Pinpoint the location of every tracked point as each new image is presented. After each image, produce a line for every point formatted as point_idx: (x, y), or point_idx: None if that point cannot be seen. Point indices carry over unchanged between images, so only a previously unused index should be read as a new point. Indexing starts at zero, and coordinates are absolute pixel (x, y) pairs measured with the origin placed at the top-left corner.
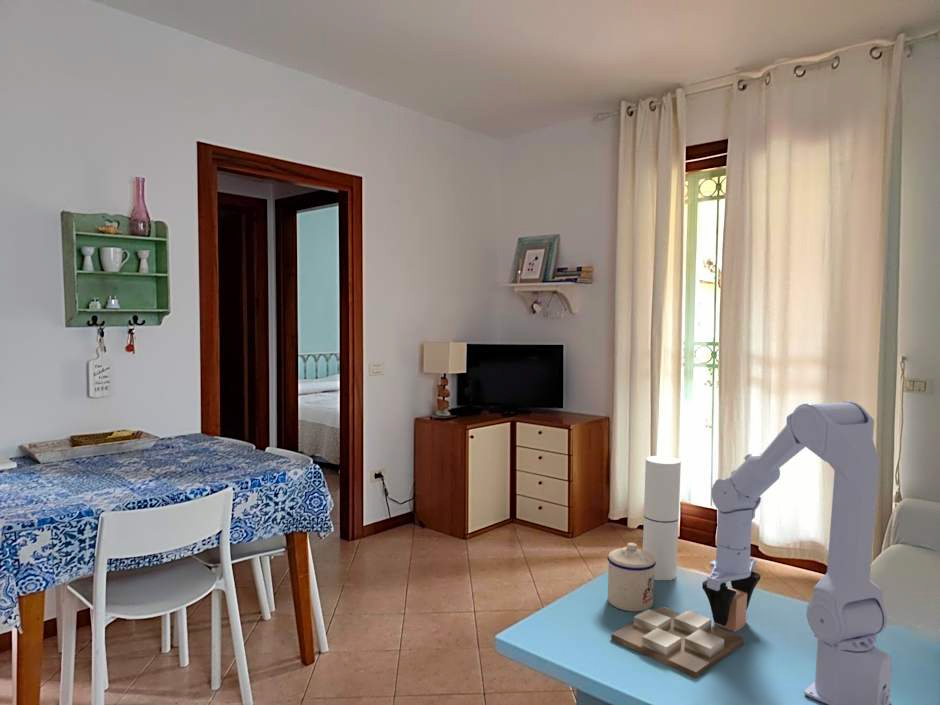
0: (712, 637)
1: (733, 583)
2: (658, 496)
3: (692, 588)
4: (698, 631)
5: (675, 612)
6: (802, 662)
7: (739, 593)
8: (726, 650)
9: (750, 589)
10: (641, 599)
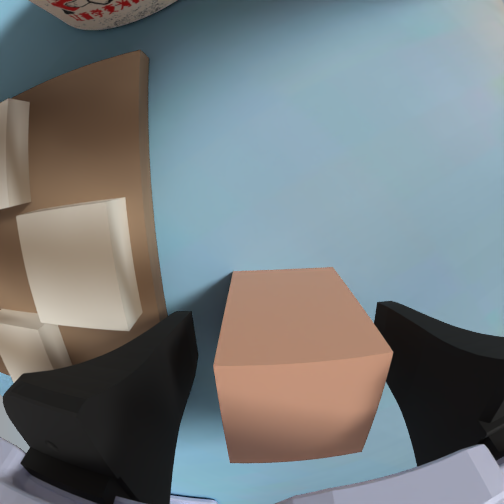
0: None
1: (447, 361)
2: None
3: (453, 49)
4: (29, 334)
5: (129, 125)
6: (231, 479)
7: (326, 443)
8: None
9: (412, 438)
10: (60, 14)
